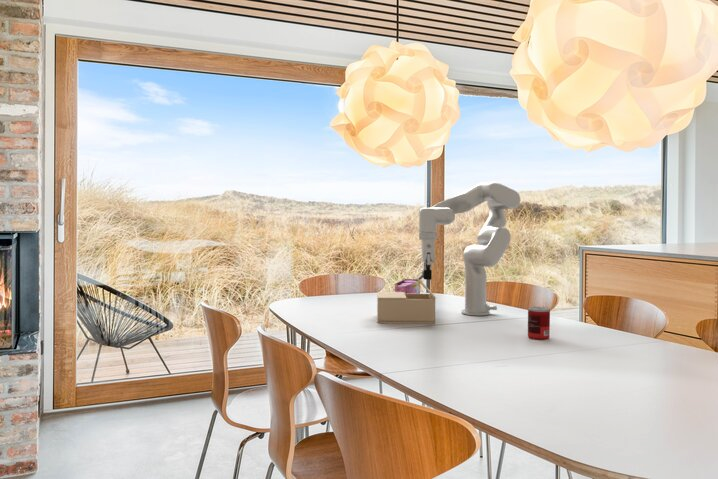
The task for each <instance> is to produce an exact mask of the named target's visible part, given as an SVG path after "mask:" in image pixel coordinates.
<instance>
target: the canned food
mask: <svg viewBox="0 0 718 479" xmlns="http://www.w3.org/2000/svg"><path fill="white" fill-rule="evenodd" d="M550 316H551V309H550V308H549V307H546V306H530V307H528V309H527V337H528V339H530V340H534V339H535V340H534V341H547V340H549V339H550V330H551V329H550V327H551V325H550V322H551V317H550Z"/></svg>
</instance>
